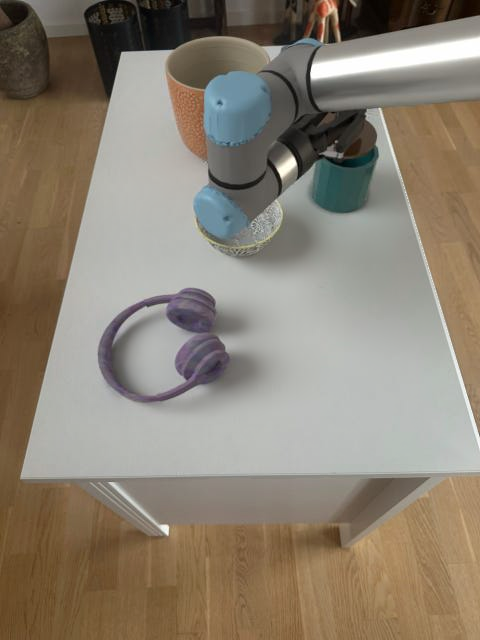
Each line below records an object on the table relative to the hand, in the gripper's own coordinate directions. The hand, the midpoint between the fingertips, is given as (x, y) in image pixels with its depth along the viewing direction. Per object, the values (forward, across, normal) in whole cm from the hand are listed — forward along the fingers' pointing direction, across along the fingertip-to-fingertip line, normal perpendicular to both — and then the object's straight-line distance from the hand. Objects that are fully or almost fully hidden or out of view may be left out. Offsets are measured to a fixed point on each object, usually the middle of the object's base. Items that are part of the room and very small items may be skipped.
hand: (362, 91), depth 75 cm
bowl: (-24, -8, -22) cm, 34 cm away
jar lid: (-5, 0, -5) cm, 8 cm away
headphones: (-51, -2, -22) cm, 55 cm away
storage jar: (0, 0, -22) cm, 22 cm away
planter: (-3, -30, -22) cm, 37 cm away
